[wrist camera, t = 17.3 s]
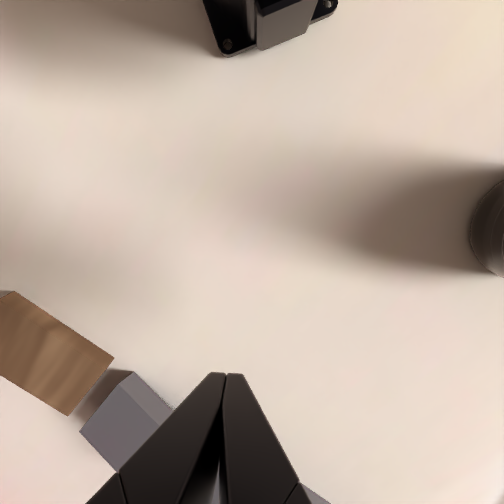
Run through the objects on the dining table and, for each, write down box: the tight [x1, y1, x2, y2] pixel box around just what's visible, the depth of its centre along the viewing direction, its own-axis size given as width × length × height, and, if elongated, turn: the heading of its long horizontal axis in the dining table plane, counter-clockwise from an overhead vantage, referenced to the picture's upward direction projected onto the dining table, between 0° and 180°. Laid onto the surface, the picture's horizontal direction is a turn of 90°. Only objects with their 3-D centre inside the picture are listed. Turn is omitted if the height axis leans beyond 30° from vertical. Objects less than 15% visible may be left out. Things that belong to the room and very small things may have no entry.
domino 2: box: [79, 372, 173, 473], centre depth 22 cm, size 2×5×8 cm
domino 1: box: [0, 291, 114, 416], centre depth 22 cm, size 2×5×8 cm
